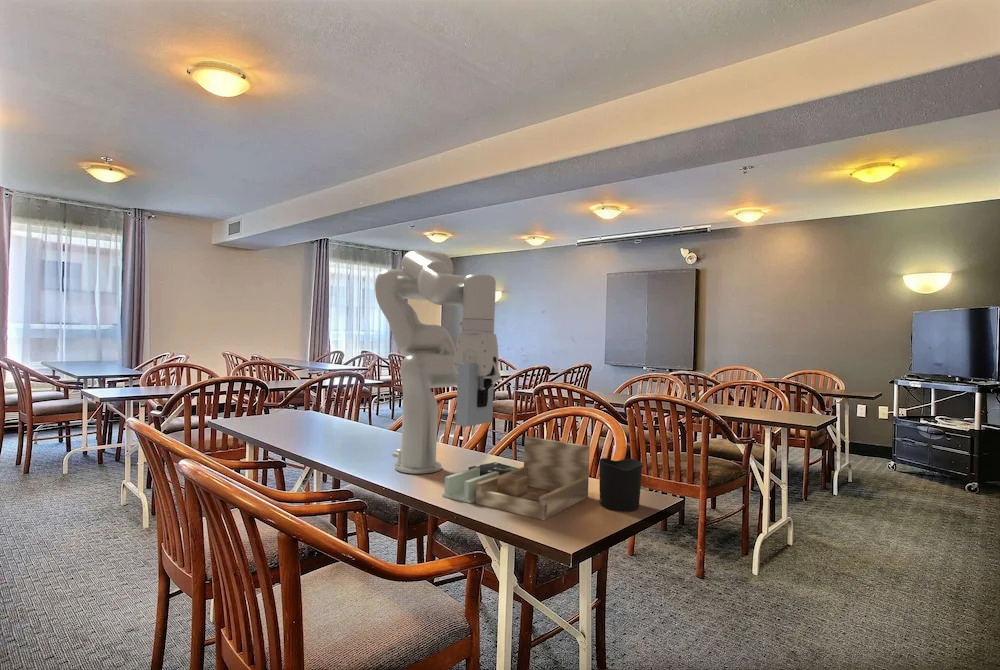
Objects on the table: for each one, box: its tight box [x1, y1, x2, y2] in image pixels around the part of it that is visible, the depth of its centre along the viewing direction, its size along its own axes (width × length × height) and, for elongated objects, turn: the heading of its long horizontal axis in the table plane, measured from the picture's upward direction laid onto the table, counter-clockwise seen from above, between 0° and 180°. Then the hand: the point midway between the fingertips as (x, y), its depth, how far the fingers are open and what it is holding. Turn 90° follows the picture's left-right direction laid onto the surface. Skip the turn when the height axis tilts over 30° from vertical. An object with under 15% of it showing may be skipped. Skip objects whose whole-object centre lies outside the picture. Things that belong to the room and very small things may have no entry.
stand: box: [441, 466, 499, 504], centre depth 130 cm, size 8×12×5 cm, turn 146°
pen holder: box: [599, 457, 643, 513], centre depth 125 cm, size 9×9×10 cm
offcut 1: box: [497, 473, 528, 495], centre depth 124 cm, size 5×5×3 cm
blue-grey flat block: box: [455, 363, 495, 427], centre depth 129 cm, size 3×10×14 cm, turn 146°
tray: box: [475, 436, 591, 521], centre depth 127 cm, size 17×21×12 cm
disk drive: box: [468, 461, 520, 476], centre depth 145 cm, size 10×3×15 cm
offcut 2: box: [496, 489, 528, 498], centre depth 124 cm, size 5×5×3 cm
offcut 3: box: [520, 491, 545, 502], centre depth 120 cm, size 5×5×3 cm
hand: (475, 405), depth 129 cm, fingers closed on blue-grey flat block, 3 cm apart
